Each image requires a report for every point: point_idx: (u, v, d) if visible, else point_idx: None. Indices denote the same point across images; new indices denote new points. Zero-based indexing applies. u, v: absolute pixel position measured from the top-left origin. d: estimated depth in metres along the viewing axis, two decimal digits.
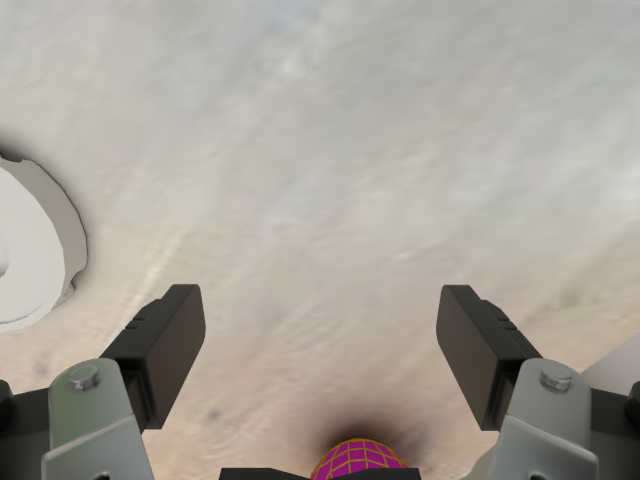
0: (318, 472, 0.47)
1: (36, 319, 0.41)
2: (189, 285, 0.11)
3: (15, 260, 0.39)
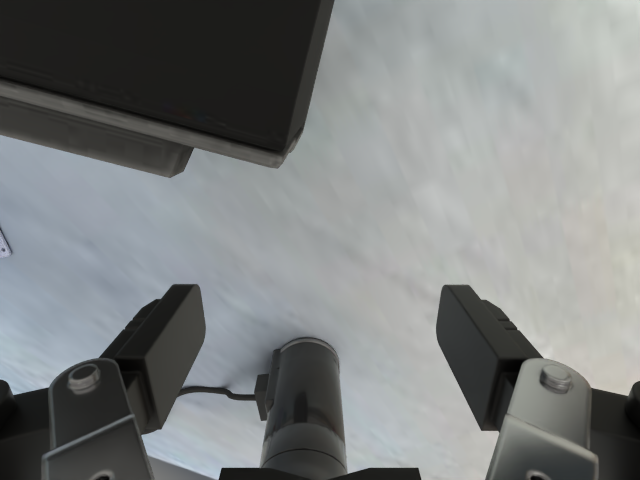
0: None
1: None
2: (189, 285, 0.11)
3: None
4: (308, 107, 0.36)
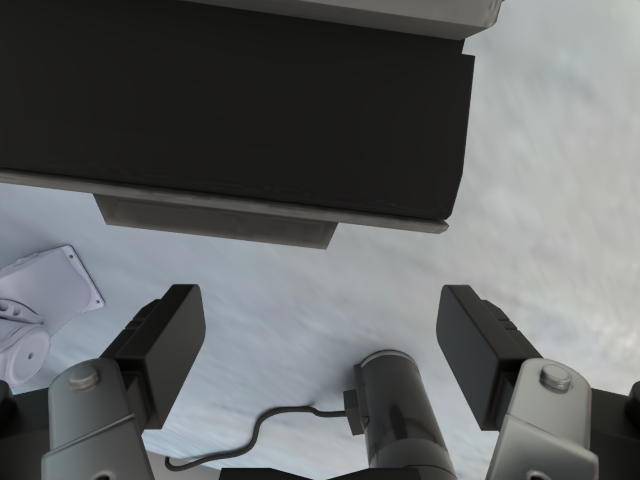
0: None
1: None
2: (189, 285, 0.11)
3: None
4: None
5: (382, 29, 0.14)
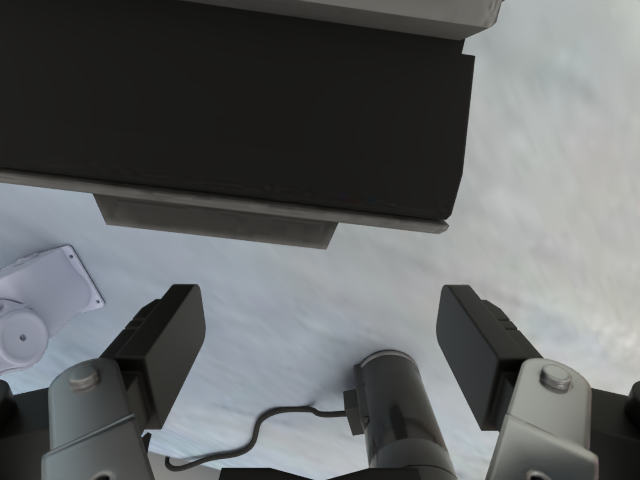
0: None
1: None
2: (189, 285, 0.11)
3: None
4: None
5: (382, 29, 0.14)
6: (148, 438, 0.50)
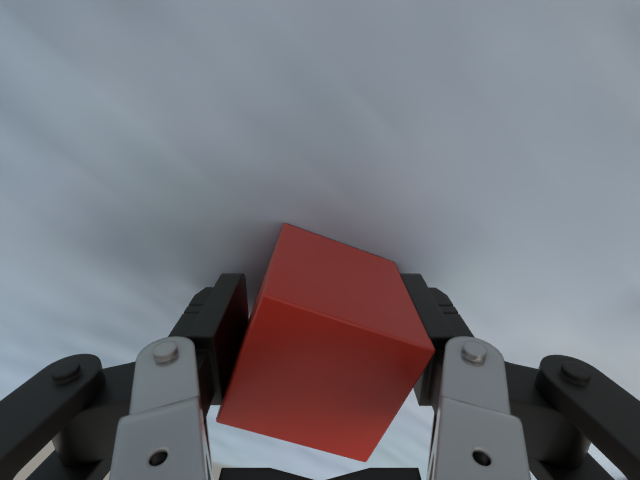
0: None
1: None
2: (237, 274, 0.11)
3: None
4: None
5: None
6: None
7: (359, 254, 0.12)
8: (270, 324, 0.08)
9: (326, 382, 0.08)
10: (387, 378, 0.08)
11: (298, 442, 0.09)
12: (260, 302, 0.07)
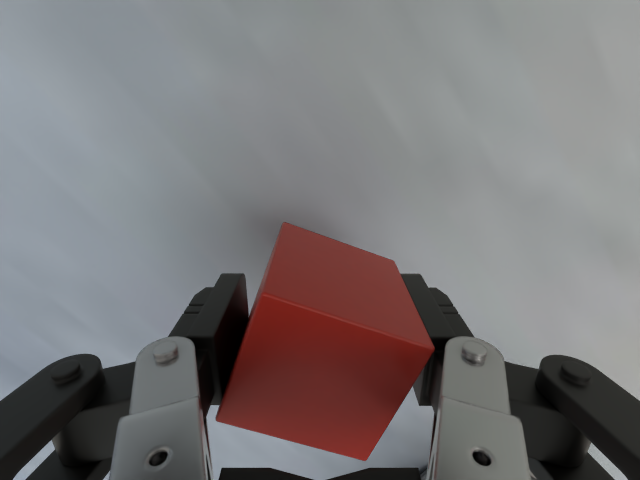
0: None
1: None
2: (237, 274, 0.11)
3: None
4: None
5: None
6: None
7: (358, 253, 0.12)
8: (269, 322, 0.08)
9: (326, 381, 0.08)
10: (387, 376, 0.08)
11: (297, 441, 0.09)
12: (259, 301, 0.07)
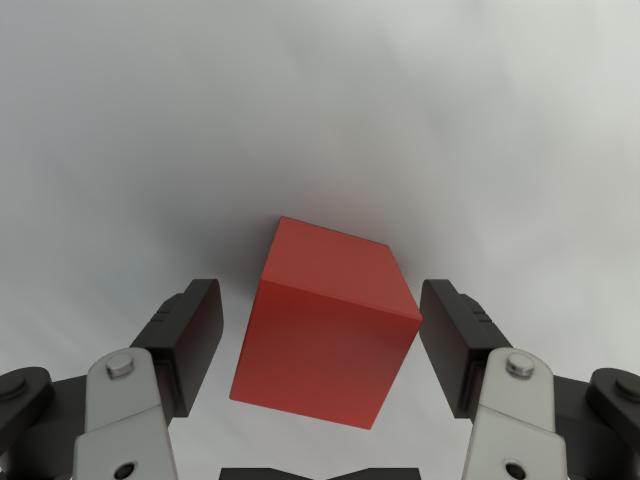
0: None
1: None
2: (209, 280, 0.11)
3: None
4: None
5: None
6: None
7: (354, 241, 0.12)
8: (270, 304, 0.08)
9: (326, 355, 0.09)
10: (381, 348, 0.09)
11: (305, 414, 0.10)
12: (259, 284, 0.08)
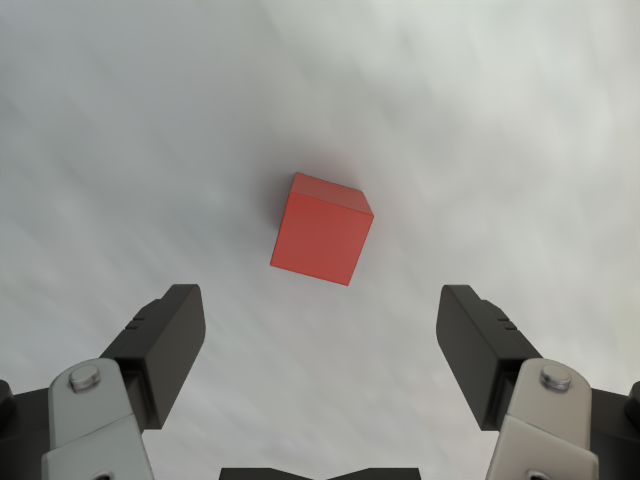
0: None
1: None
2: (189, 285, 0.11)
3: None
4: None
5: None
6: None
7: (340, 187, 0.20)
8: (294, 206, 0.16)
9: (323, 237, 0.17)
10: (352, 233, 0.17)
11: (311, 275, 0.18)
12: (288, 196, 0.16)
